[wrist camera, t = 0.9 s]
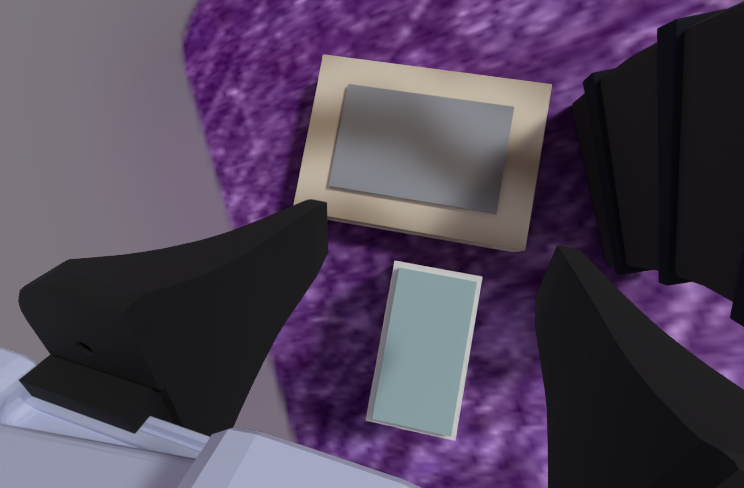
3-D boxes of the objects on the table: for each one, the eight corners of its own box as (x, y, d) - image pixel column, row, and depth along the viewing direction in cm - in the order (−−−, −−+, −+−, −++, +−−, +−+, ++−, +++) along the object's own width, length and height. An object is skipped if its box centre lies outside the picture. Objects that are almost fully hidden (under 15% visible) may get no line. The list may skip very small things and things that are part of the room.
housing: (442, 399, 23) (456, 444, 17) (374, 384, 24) (364, 423, 18) (464, 275, 24) (484, 276, 18) (396, 262, 24) (394, 260, 18)
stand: (513, 252, 23) (526, 250, 21) (302, 215, 25) (291, 209, 22) (538, 101, 24) (554, 81, 21) (330, 73, 25) (322, 51, 23)
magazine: (627, 29, 22) (1069, -97, 8) (616, 232, 27) (884, 375, 13) (564, 42, 22) (886, -58, 8) (564, 241, 27) (770, 390, 13)
